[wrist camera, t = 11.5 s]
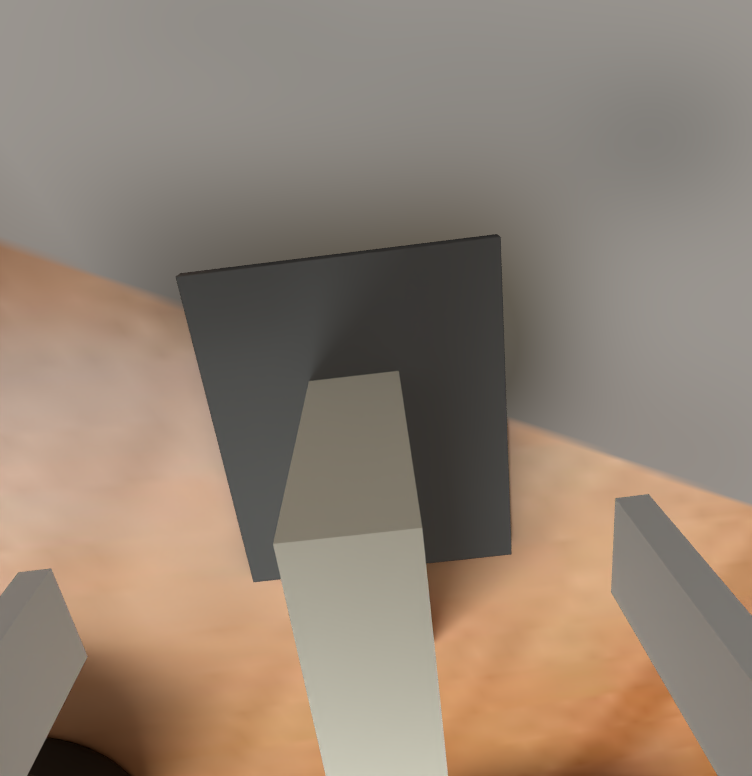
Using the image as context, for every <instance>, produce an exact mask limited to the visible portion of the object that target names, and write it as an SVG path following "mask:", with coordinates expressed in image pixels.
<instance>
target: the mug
mask: <svg viewBox="0 0 752 776" xmlns="http://www.w3.org/2000/svg"><path fill="white" fill-rule="evenodd" d="M27 776H129V775H128V774H127V773H126V772H125V771H124V770H123V769H122V768H120V767H119V766H118V765H117V764H116V763H114V762H112V761H111V760H109V759H108V758H106V757H105V756H103V755H101V754H99V753H97V752H95V751H93V750H91V749H88V748H85V747H82V746H80V745H77V744H74V743H70V742H66V741H62V740H56V739H50V738H46V739H45V741H44V743H43V745H42V747H41V749H40V751H39V753H38V755H37V757H36V759H35V761H34V763H33V765H32V767H31V769H30V771H29V773H28V775H27Z"/></svg>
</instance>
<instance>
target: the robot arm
mask: <svg viewBox="0 0 752 776" xmlns="http://www.w3.org/2000/svg"><path fill="white" fill-rule="evenodd" d="M611 593H612V594H613V596H614V598H615V600H616V601H617V603H618V605H619V606H620V608H621V610H622V612H623V613H624V615H625V617H626V619H627V620H628V622H629V624H630V625H631V627H632V629H633V631H634V632H635V634H636V636H637V637H638V639H639V641H640V643H641V644H642V646H643V648H644V650H645V651H646V653H647V655H648V656H649V658H650V660H651V662H652V663H653V665H654V667H655V668H656V670H657V672H658V674H659V675H660V677H661V679H662V680H663V682H664V684H665V686H666V687H667V689H668V691H669V693H670V694H671V696H672V698H673V699H674V701H675V703H676V705H677V706H678V708H679V710H680V711H681V713H682V715H683V717H684V718H685V720H686V722H687V724H688V725H689V727H690V729H691V730H692V732H693V734H694V736H695V737H696V739H697V741H698V742H699V744H700V746H701V748H702V749H703V751H704V753H705V754H706V756H707V758H708V760H709V761H710V763H711V765H712V767H713V768H714V770H715V772H716V773H717V775H718V776H752V616H751V614H750V613H749V612H748V611H747V610H746V608H745V607H744V606H743V605H742V604H741V603H740V601H739V600H738V599H737V598H736V597H735V595H734V594H733V593H732V592H731V591H730V590H729V588H728V587H727V586H726V585H725V584H724V583H723V581H722V580H721V579H720V578H719V577H718V575H717V574H716V573H715V572H714V571H713V570H712V568H711V567H710V566H709V565H708V564H707V562H706V561H705V560H704V559H703V558H702V557H701V555H700V554H699V553H698V552H697V551H696V550H695V548H694V547H693V546H692V545H691V544H690V542H689V541H688V540H687V539H686V538H685V537H684V535H683V534H682V533H681V532H680V531H679V529H678V528H677V527H676V526H675V525H674V524H673V522H672V521H671V520H670V519H669V518H668V517H667V515H666V514H665V513H664V512H663V511H662V509H661V508H660V507H659V506H658V505H657V504H656V502H655V501H654V500H653V499H652V498H651V496H650V495H649V494H646V495H638V496H630V497H622V498H615V518H614V540H613V562H612V584H611ZM87 657H88V656H87V654H86V651H85V649H84V647H83V644H82V642H81V639H80V637H79V635H78V632H77V630H76V627H75V625H74V622H73V620H72V618H71V615H70V613H69V610H68V608H67V606H66V603H65V601H64V598H63V596H62V594H61V591H60V589H59V586H58V584H57V582H56V579H55V577H54V574H53V572H52V569H43V570H35V571H27V572H19V573H18V574H17V575H16V576H15V578H14V579H13V580H12V582H11V583H10V584H9V585H8V587H7V588H6V589H5V591H4V592H3V593H2V595H1V596H0V776H27V775H28V773H29V771H30V769H31V767H32V765H33V763H34V761H35V759H36V757H37V755H38V753H39V751H40V749H41V747H42V745H43V743H44V741H45V739H46V737H47V735H48V734H49V732H50V730H51V728H52V726H53V724H54V722H55V720H56V718H57V716H58V714H59V712H60V710H61V708H62V706H63V704H64V702H65V700H66V698H67V696H68V694H69V692H70V690H71V688H72V686H73V684H74V682H75V680H76V678H77V676H78V674H79V673H80V671H81V669H82V667H83V665H84V663H85V661H86V659H87Z"/></svg>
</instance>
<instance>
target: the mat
mask: <svg viewBox="0 0 752 776" xmlns="http://www.w3.org/2000/svg"><path fill="white" fill-rule="evenodd" d="M176 280H177V284H178V288H179V291H180V295H181V300H182V304H183V307H184V311H185V315H186V319H187V323H188V327H189V331H190V335H191V339H192V343H193V347H194V351H195V354H196V358H197V362H198V366H199V370H200V374H201V378H202V382H203V386H204V390H205V394H206V398H207V402H208V405H209V409H210V413H211V417H212V421H213V425H214V429H215V433H216V437H217V441H218V445H219V449H220V453H221V456H222V460H223V464H224V468H225V472H226V476H227V480H228V484H229V488H230V492H231V496H232V500H233V504H234V507H235V511H236V515H237V519H238V523H239V527H240V531H241V535H242V539H243V543H244V547H245V551H246V555H247V558H248V562H249V566H250V570H251V574H252V578H253V582H260V581H269V580H278V579H281V577H280V573H279V568H278V564H277V559H276V555H275V551H274V546H273V542H274V537H275V533H276V528H277V524H278V519H279V515H280V510H281V506H282V501H283V496H284V492H285V487H286V483H287V478H288V474H289V469H290V465H291V460H292V456H293V451H294V447H295V442H296V438H297V433H298V429H299V424H300V419H301V415H302V410H303V406H304V401H305V397H306V392H307V388H308V383H309V381H314V380H323V379H331V378H340V377H349V376H357V375H366V374H375V373H383V372H392V371H399V376H400V382H401V389H402V396H403V402H404V409H405V416H406V422H407V429H408V436H409V443H410V449H411V456H412V463H413V469H414V476H415V483H416V489H417V496H418V503H419V509H420V516H421V523H422V530H423V540H424V549H425V559H426V563H435V562H445V561H454V560H463V559H472V558H482V557H491V556H500V555H509V554H511V527H510V498H509V469H508V440H507V411H506V382H505V354H504V325H503V297H502V267H501V239H500V236H499V235H497V234H495V235H487V236H479V237H471V238H463V239H455V240H446V241H438V242H430V243H422V244H414V245H407V246H398V247H390V248H382V249H375V250H366V251H358V252H350V253H342V254H334V255H325V256H318V257H310V258H301V259H293V260H286V261H277V262H269V263H261V264H253V265H244V266H237V267H228V268H220V269H212V270H204V271H196V272H188V273H180V274H179V275H178V276H176Z"/></svg>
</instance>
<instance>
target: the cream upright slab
mask: <svg viewBox="0 0 752 776" xmlns="http://www.w3.org/2000/svg"><path fill="white" fill-rule="evenodd" d="M273 546H274V551H275V555H276V559H277V564H278V568H279V573H280V577H281V581H282V586H283V590H284V594H285V599H286V603H287V608H288V612H289V616H290V621H291V625H292V630H293V634H294V638H295V643H296V647H297V652H298V656H299V660H300V665H301V669H302V673H303V678H304V682H305V687H306V691H307V695H308V700H309V704H310V709H311V713H312V717H313V722H314V726H315V730H316V735H317V739H318V744H319V748H320V752H321V757H322V761H323V766H324V770H325V774H326V776H448V772H447V762H446V752H445V743H444V733H443V723H442V714H441V704H440V694H439V685H438V675H437V665H436V656H435V646H434V636H433V627H432V617H431V607H430V598H429V588H428V578H427V569H426V559H425V549H424V540H423V530H422V523H421V516H420V509H419V503H418V496H417V489H416V483H415V476H414V469H413V463H412V456H411V449H410V443H409V436H408V429H407V422H406V416H405V409H404V402H403V396H402V389H401V382H400V376H399V371H392V372H383V373H375V374H366V375H357V376H349V377H340V378H331V379H323V380H314V381H309V383H308V388H307V392H306V397H305V401H304V406H303V410H302V415H301V419H300V424H299V429H298V433H297V438H296V442H295V447H294V451H293V456H292V460H291V465H290V469H289V474H288V478H287V483H286V487H285V492H284V496H283V501H282V506H281V510H280V515H279V519H278V524H277V528H276V533H275V537H274V542H273Z"/></svg>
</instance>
